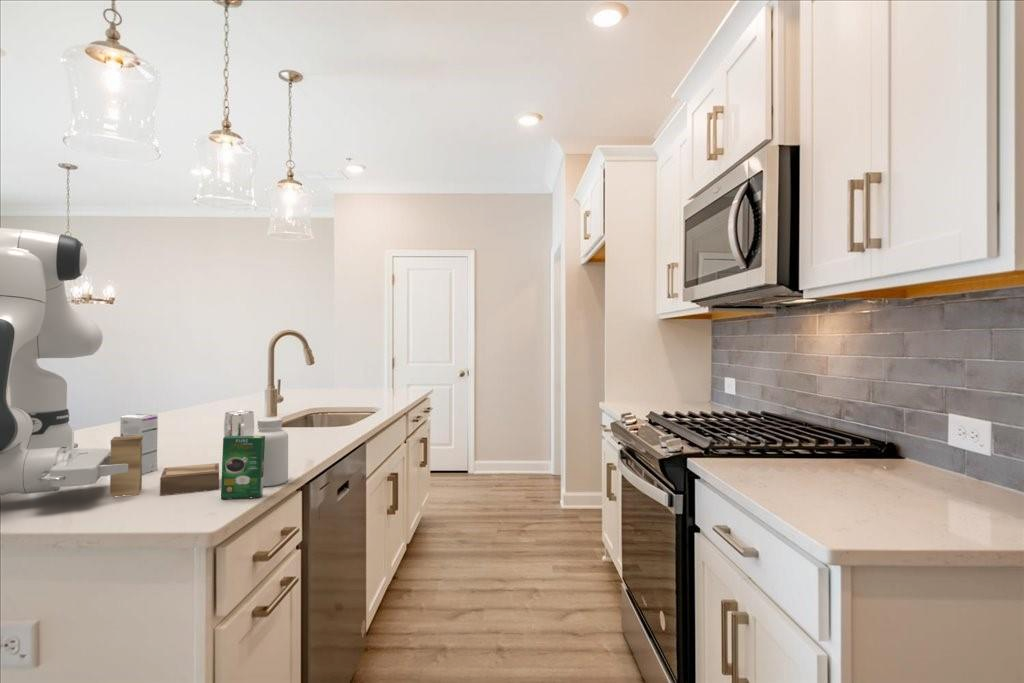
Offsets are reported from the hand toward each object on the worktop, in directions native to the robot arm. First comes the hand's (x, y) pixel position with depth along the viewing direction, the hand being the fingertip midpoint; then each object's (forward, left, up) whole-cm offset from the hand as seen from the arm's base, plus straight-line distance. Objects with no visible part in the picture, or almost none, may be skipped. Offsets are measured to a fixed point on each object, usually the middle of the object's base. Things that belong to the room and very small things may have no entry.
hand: (131, 462), depth 115 cm
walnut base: (0, +11, -7) cm, 13 cm away
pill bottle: (+4, +27, -7) cm, 28 cm away
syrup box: (-21, -1, -7) cm, 22 cm away
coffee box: (+14, +21, -7) cm, 26 cm away
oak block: (0, -1, -7) cm, 7 cm away
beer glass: (-12, +21, -7) cm, 25 cm away
